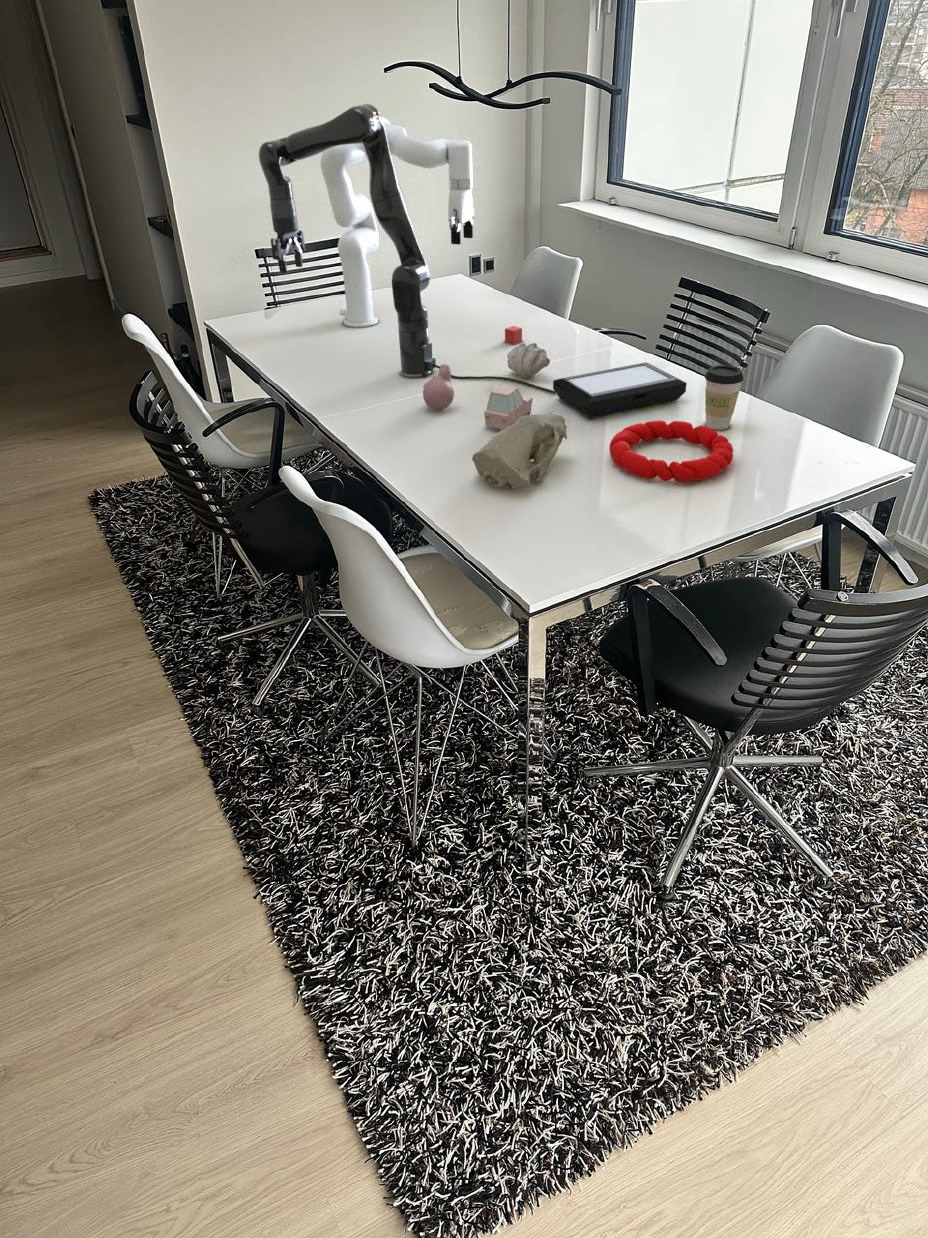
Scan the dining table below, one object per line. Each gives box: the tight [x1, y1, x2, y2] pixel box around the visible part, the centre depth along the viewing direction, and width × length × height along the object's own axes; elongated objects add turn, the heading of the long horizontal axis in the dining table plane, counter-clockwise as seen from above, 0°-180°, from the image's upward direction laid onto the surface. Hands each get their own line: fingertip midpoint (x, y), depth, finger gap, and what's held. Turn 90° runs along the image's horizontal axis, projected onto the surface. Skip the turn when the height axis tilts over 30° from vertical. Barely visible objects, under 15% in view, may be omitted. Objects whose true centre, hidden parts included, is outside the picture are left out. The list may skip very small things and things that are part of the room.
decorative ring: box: [609, 419, 734, 483], centre depth 221 cm, size 7×30×30 cm
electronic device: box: [552, 362, 688, 419], centre depth 255 cm, size 32×6×20 cm
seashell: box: [506, 342, 551, 379], centre depth 273 cm, size 10×15×10 cm
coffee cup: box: [704, 364, 745, 431], centre depth 235 cm, size 10×10×15 cm
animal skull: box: [471, 411, 568, 490], centre depth 215 cm, size 17×25×20 cm
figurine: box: [422, 363, 455, 411], centre depth 252 cm, size 9×11×12 cm
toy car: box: [483, 385, 534, 430], centre depth 242 cm, size 9×15×10 cm, turn 149°
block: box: [504, 325, 523, 346], centre depth 303 cm, size 4×4×5 cm
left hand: (462, 240), depth 295 cm, fingers open, 9 cm apart
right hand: (291, 269), depth 281 cm, fingers open, 8 cm apart
